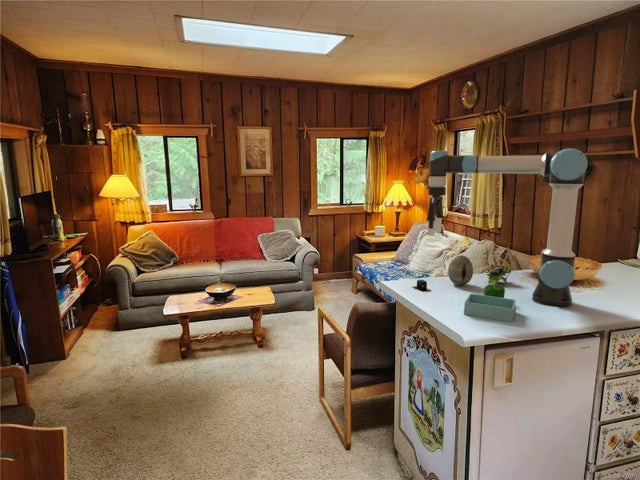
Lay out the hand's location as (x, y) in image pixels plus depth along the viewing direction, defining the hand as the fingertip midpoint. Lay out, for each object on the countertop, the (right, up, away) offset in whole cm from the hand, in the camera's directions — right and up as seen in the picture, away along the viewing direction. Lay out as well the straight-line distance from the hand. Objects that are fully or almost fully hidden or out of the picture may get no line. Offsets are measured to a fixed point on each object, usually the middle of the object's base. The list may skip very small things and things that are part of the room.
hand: (434, 233), depth 187 cm
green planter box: (+15, -32, -25) cm, 43 cm away
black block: (-3, -27, +12) cm, 30 cm away
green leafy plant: (+39, -25, +23) cm, 52 cm away
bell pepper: (+22, -31, -10) cm, 39 cm away
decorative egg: (+18, -26, +19) cm, 37 cm away
